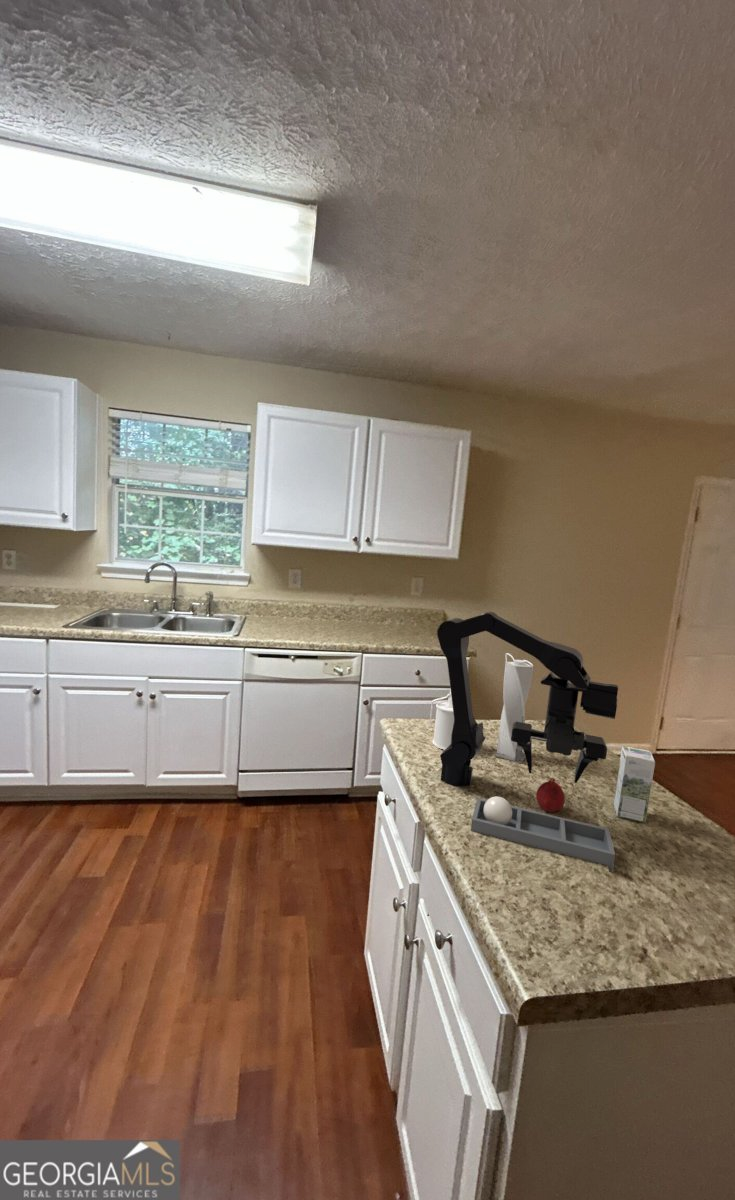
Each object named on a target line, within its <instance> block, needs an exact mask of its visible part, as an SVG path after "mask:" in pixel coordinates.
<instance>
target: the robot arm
mask: <svg viewBox="0 0 735 1200" xmlns="http://www.w3.org/2000/svg"><path fill="white" fill-rule="evenodd" d="M436 630H437V631H436V634H437V639H438V643H439V646H440V650H441V651H442V653H443V656H444V657H445V658H446V662H447V670H448V672H447V673H448V679H449V686H450V687H449V688H451V697H452V705H453V713H454V725H453V730H452V735H451V744H450V745H449V746H448V747H447V748H446V749H445V750H443V752H441V754H439V758H440V762H441V773H440V781H441V782H444V783H445V784H447V785H449V786H452V787H471V784H472V780H473V779H472V778H473V770H474V768H473V766H471V765H472V760H473V759H474V758H475V756H477V754H478V752H479V751H480V750H481V748H482V747H483V743H484V742H485V740H486V737H485V736H484V723H483V722H479V723H478V722H477V720H476V719H475V717H474V712H473V711H474V710H473V702H472V701H473V700H472V695H471V694H472V693H471V685H470V677H469V668H468V661H467V660H468V659H467V655H468V650H469V645H470V637H471V636H473V635H477V634H480V633H484V632H487V633H488V634H491V635H493V636H495V637H497V638H498V639H501V640H502V641H504V642H506V643H508V644H510V645H512V646H513V647H515V648H518V649H520V650H521V651H523V652H525V653H527V654H529V655H530V656H532V657H534V658H535V659H536V660H538V661H539V662H540V663H541V664H542V665H543V667H545V668H546V669H547V670H548V671H550V672H549V673H548V674H547V675H546V676H544V677H542V678H541V680H540V685H545V686H549V689H548V692H549V693H548V699H547V707H546V715H545V719H544V721H545V722H544V729H543V731H542V730H536V729H532V727H533V725H532V723H526V722H525V723H522V722H515V723H514V724H513V728H512V736H511V740H512V741H513V742H517V745H518V746H521V747H522V748H523V750H522V751H523V753H525V756H526V757H525V759H526V764H527V769H528V774H532V767H533V752H532V750H533V745H532V742H533V740H537V741H542V742H546V744H545V749H546V751H547V752H549V753H552V754H554V753H556V754H561V755H563V756H567V757H568V756H571V755H572V752H573V751H576V752H577V751H579V754H578V759H577V763H576V768H575V772H574V777H573V778H574V779H573V782H574V784H577V783H578V782H579V780H580V778H581V776H582V775H583V773H584V771H585V770H586V768H587V767H588V765H589V764H591V763H592V762H598V761H599V760H606V759H607V754H608V747H607V744H606V740H605V739H604V738H603V737H601V736H597V735H591V734H585V732H583V731H579V730H578V731H577V730H575V722H576V714H577V707H578V706H577V705H578V699H579V692H581V697H580V703H579V704H580V705H579V707H580V708H582V711H584V713H585V714H588V715H593V716H597V717H604V718H607V719H612V720H615V719H616V715H617V708H618V692H619V685H618V684H613V683H603V682H597V681H592V680H591V677H590V675H589V673H588V672H587V670H586V669H585V667H584V658H583V656H582V653H581V652H580V651H579V650H577V649H575V648H574V647H570V646H568V645H565V644H561V643H557V642H553V641H549V640H546V639H543V638H542V637H539V636H537V635H536V634H533V633H532V632H530V631H528V630H527V629H524V628H522V627H520V626H518V625H516V624H515V623H512V622H510V621H509V620H507V619H504V618H503V617H501V616H499V615H498V614H497V613H495V612H493V611H487V612H484V613H482V614H479V615H477V616H473V617H469V618H467V619H463V618H459V617H455V618H452V619H448V620H446V621H443V622H442V623H440V625H439V626H438V628H437V629H436Z"/></svg>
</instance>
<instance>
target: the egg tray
mask: <svg viewBox="0 0 735 1200" xmlns="http://www.w3.org/2000/svg"><path fill="white" fill-rule="evenodd" d="M487 800H488V799H484V798H479V797H477V798H476V803H475V807H474V811H473V813H472V818H471V824H470V831H471V832H475V833H479V834H483V835H486V836H491V837H495V838H498V839H503V840H506V841H510V842H513V843H518V844H522V845H526V846H530V847H533V848H537V849H540V850H541V849H542V850H545V851H550V852H553V853H558V854H560V855H565V856H569V857H572V858H575V859H581V860H585V861H588V862H593V863H596V864H600V865H604V866H607V869H608V872H609V873H611V874H613V872H614V865H615V859H616V853H615V847H614V845H613V841H612V840H613V839H612V837H611V833H610V829H609V828H608V827H603V826H598V825H595V824H592V823H591V824H590V823H586V822H582V821H578V820H573V819H569V818H564V817H561V816H560V817H559V816H555V815H552V814H548V813H543V812H538V811H534V810H531V809H527V808H522V807H519V806H518V807H517V806H515V805H514V806H513V805H511V808H512V818H511V820H510V822H509V823H508V824H507V825H501V824H497V823H493V822H489V821H487V820H486V818H485V816H484V811H483V810H484V805H485V803H486V801H487Z"/></svg>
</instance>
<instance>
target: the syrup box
mask: <svg viewBox="0 0 735 1200" xmlns="http://www.w3.org/2000/svg"><path fill="white" fill-rule="evenodd" d="M618 765H619V766H618V772H617V780H616V783H615V784H616V786H615V793H614V797H613V798H614V799H613V807H614V811H615V814H616V817H617V818H622V819H626V820H630V821H635V822H639V823H646V821H647V816H648V809H649V802H650V797H651V790H652V784H653V777H654V771H655V768H656V767H655V766H656V761H655V759H654V756H653V754H652V752H651V751H650V750H646V749H640V748H635V747H630V746H629V747H628V746H623V745H622V747H621V751H620V759H619V764H618Z"/></svg>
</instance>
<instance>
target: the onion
mask: <svg viewBox="0 0 735 1200" xmlns="http://www.w3.org/2000/svg"><path fill="white" fill-rule="evenodd" d="M535 794H536V795H535V796H536V801H537V804H538V806H539V807H540V808H541V809H542V810H543V811H546V812H548V813H557V812H558V811H560V810H561V809H562V808H563V806H564V804H565V800H566V796H565V793H564V790H563V789H562V787H561V786H560V785H559V784H558V782H556V778H555V777H551V778H549V780H548V781H545V782H543V783H541V784H540V786H539V787H538V788H537V790H536V793H535Z"/></svg>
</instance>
